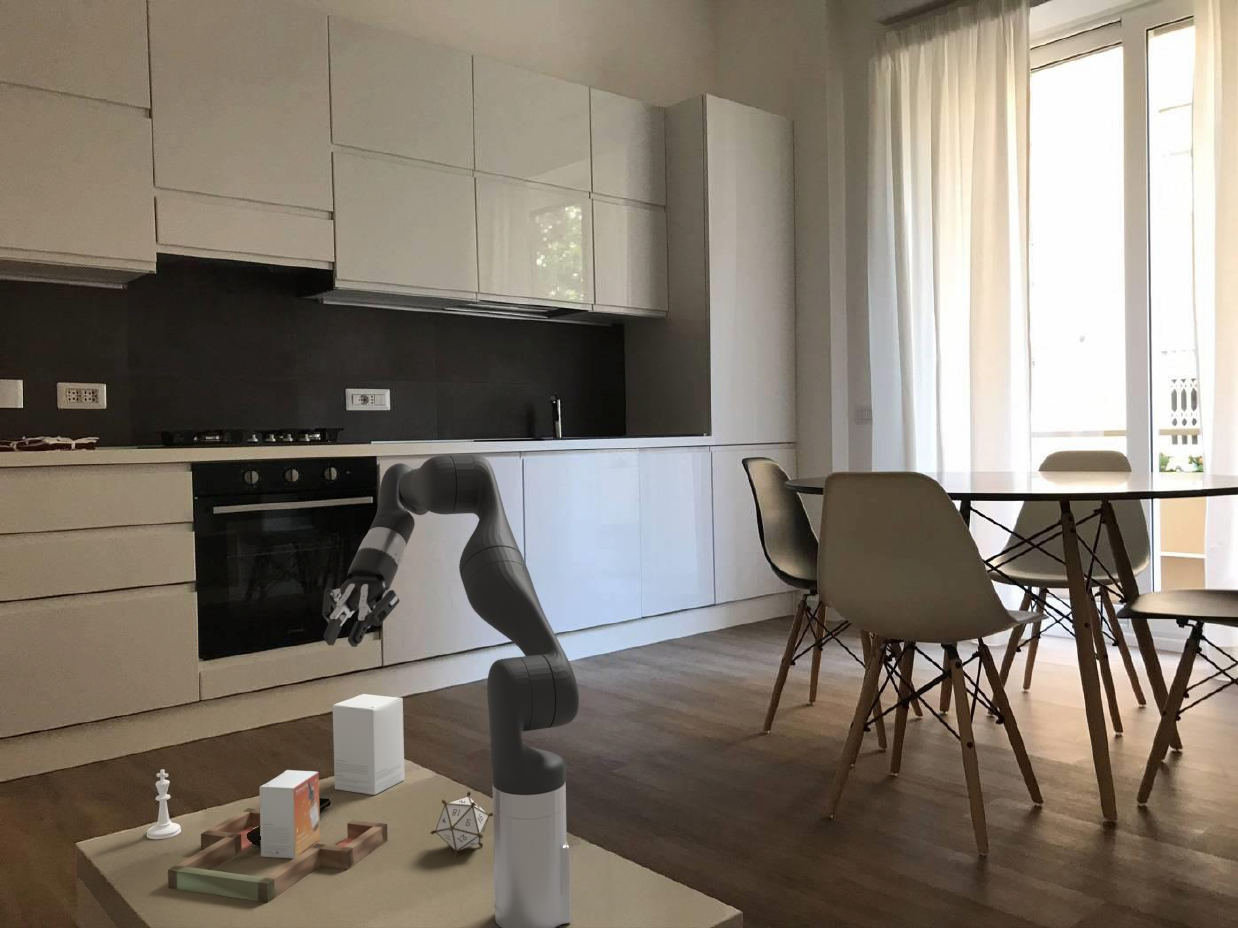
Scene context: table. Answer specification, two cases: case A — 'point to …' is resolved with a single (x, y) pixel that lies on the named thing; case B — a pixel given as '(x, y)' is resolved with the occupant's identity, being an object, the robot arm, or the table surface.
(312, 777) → the small box
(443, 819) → the game die
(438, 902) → the table surface
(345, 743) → the supplement box
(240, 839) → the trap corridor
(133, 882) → the table surface
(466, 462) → the robot arm
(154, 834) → the chess piece
